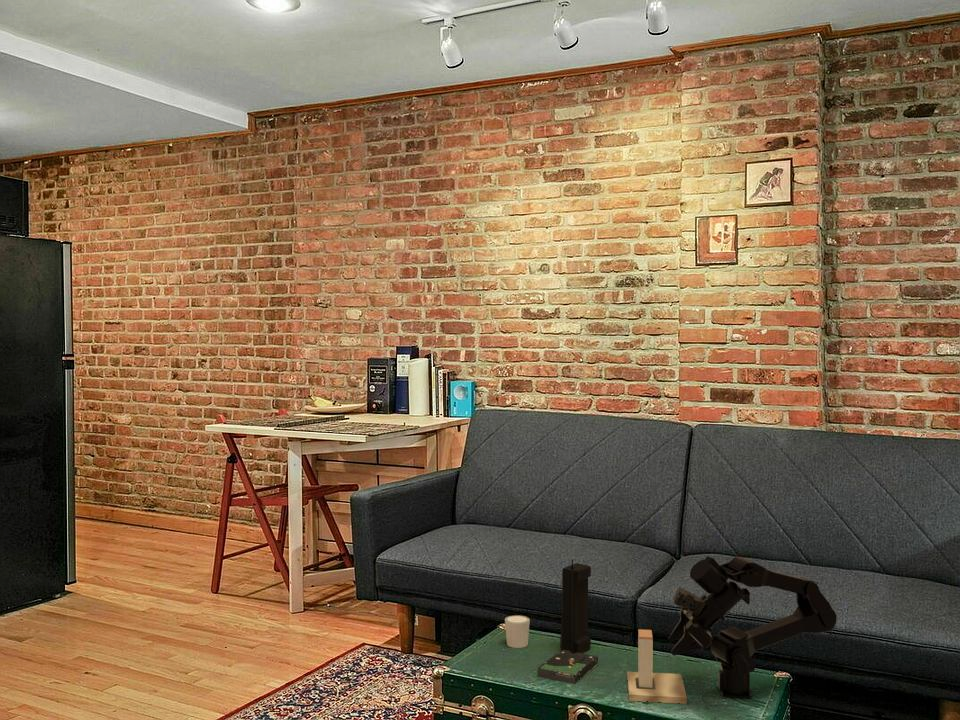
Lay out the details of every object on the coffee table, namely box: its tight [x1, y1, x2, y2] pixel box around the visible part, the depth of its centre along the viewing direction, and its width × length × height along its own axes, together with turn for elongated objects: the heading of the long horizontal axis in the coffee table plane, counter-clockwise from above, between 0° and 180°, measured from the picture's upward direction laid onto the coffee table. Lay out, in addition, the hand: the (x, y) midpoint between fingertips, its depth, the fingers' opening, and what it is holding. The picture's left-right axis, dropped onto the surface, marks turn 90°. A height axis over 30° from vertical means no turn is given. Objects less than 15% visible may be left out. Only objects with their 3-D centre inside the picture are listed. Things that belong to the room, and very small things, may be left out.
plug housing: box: [637, 629, 654, 688], centre depth 211 cm, size 3×5×12 cm, turn 172°
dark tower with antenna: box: [559, 559, 592, 654], centre depth 238 cm, size 8×6×25 cm
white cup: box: [504, 615, 531, 649], centre depth 242 cm, size 7×7×7 cm
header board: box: [626, 671, 688, 705], centre depth 211 cm, size 13×14×4 cm
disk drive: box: [537, 649, 599, 685], centre depth 224 cm, size 10×3×15 cm
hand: (670, 646), depth 211 cm, fingers open, 9 cm apart
